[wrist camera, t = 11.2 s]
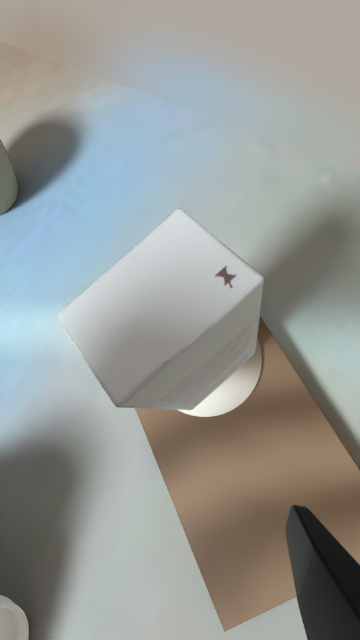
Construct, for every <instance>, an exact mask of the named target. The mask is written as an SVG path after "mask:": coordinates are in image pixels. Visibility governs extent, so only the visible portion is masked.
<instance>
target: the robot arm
mask: <svg viewBox="0 0 360 640" xmlns="http://www.w3.org/2000/svg"><path fill="white" fill-rule="evenodd" d="M285 533H286V540H287V546H288V551H289V557H290V562H291V568H292V574H293V579H294V585H295V591H296V596H297V601H298V605H299V609H300V613H301V617H302V620H303V624H304V628H305V632H306V635H307V639H308V640H360V565H359V563H358V562H357V561H356V560H355V559H354V558H353V557H352V556H351V555H350V554H349V552H348V551H347V550H346V549H345V548H344V547H343V546H342V545H341V544H340V543H339V541H338V540H337V539H336V538H335V537H334V536H333V535H332V534H331V533H330V531H329V530H328V529H327V528H326V527H325V526H324V525H323V524H322V523H321V522H320V520H319V519H318V518H317V517H316V516H315V515H314V514H313V513H312V512H311V511H310V509H309V508H307V507H306V506H300V505H292V506H291V508H290V512H289V515H288V519H287V523H286V528H285Z"/></svg>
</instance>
